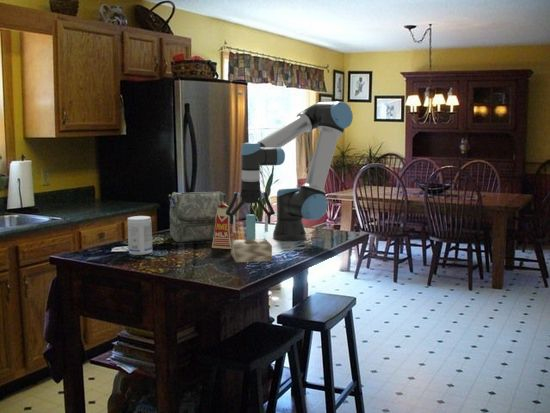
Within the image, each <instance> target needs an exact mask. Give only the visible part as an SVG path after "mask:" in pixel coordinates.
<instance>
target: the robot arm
mask: <svg viewBox="0 0 550 413" xmlns="http://www.w3.org/2000/svg"><path fill="white" fill-rule="evenodd" d="M353 115H354V114H353V110H352V109H351V106H350V105H349V104H348V103H347V102H344V101H339V100H335V101H319V102H317V103H314V104H312V105H310V106H308V107H307V108H305V109H304V110H302V111H301V112H299V113H297V115H296V117H295V118H294V119H292V120H290V121H289V122H288V123H286V124H284V125H283V126H281V127H280V128H278V129H276V130H275V131H273V132H272V133H270V134H268V135H267V136H266V137H264V138H262V139H261V140H259V141H258V142H244V143H242V145H241V151H240V158H241V184H240V187H241V189H240V192H236V191H234V192H233V195H232V196H233V197H232V199H231V201H230V203H229V205H228V209H227V211H226V215H229V216H230V224H233V233H235V232H236V216H235V214H237V212H238V211H239V210H240V208H242V207H243V205H245V203H246V204H255V203H257V205H258V206H259V208H261V210H262V211H263V212H264V213H265V214H266V215H264V232H266V233H267V232H268V233H269V230H268V229H269V224H271V216H273V215H275V214H276V224H275V226H274V230H273V233H272V238H273V239H274V240H278V241H300V240H305V239H306V237H307V232H306V230H305V226H304V223H303V219H304V220H308V221H316V220H320V219H321V218H323V217H324V215H325V214H326V213H327V210H328V205H329V202H328V200H327V197H326V195H327V192H326V190H325V187H326V186H325V185H326V181H327V178H328V176H329V175H328V174H329V171H330V168H331V166H332V161H333V158H334V157H333V156H334V155H335V154H334V153H335V150H336V147H337V143H338V139H339V138H340V137H342V136H343V135H344V132H345V129H347V128H349V127H350V126H351V125H352V123H353V118H354V117H353ZM316 129H318V131H319V133H318V137H317V141H316V144H315V147H314V151H313V155H312V158H311V161H310V165H309V169H308V172H307V175H306V180H305V183H303V184H302V185H300V187H293V188H291V187H290V188H280V189H278V190H277V193H276V213H275V210H274V208H273V206H272V204H271V202H270V199H269V198H268V192H266V191H264V192H261V191H260V186H261V184H260V182H261V181H260V179H261V171H260V170H261V167H262V166H264V167H265V166H276V167H277V166H280V165H283V164H284V162H285V159H286V152H285V151H284V148H282V147H285V145H287V144H288V143H290V142H292V141H293V140H295V139H296V138H297V137H300V136H301V135H303V134H304V133H309V132H311V131H313V130H316ZM239 197H241V200H240V201H239V202H238V203H237V205H236V206H235V204H236V201H237V199H238V198H239ZM260 197H262V198H263V199H264V202H265V204H266V205H267V207H268V208H266V206H265V205H263V203H262V202H261V200H260ZM234 206H235V208H234ZM231 209H232V212H231V213H230V211H231Z"/></svg>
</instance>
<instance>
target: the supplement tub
mask: <svg viewBox="0 0 550 413" xmlns="http://www.w3.org/2000/svg"><path fill="white" fill-rule="evenodd" d="M152 229H153V228H152V217H151V216H148V215H135V216H134V215H133V216H130V217H127V239H128V240H127V243H128V244H127V245H128V252H129V254H130V255H134V256H143V255H149V254H151V253H152V252H153V231H152Z"/></svg>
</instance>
